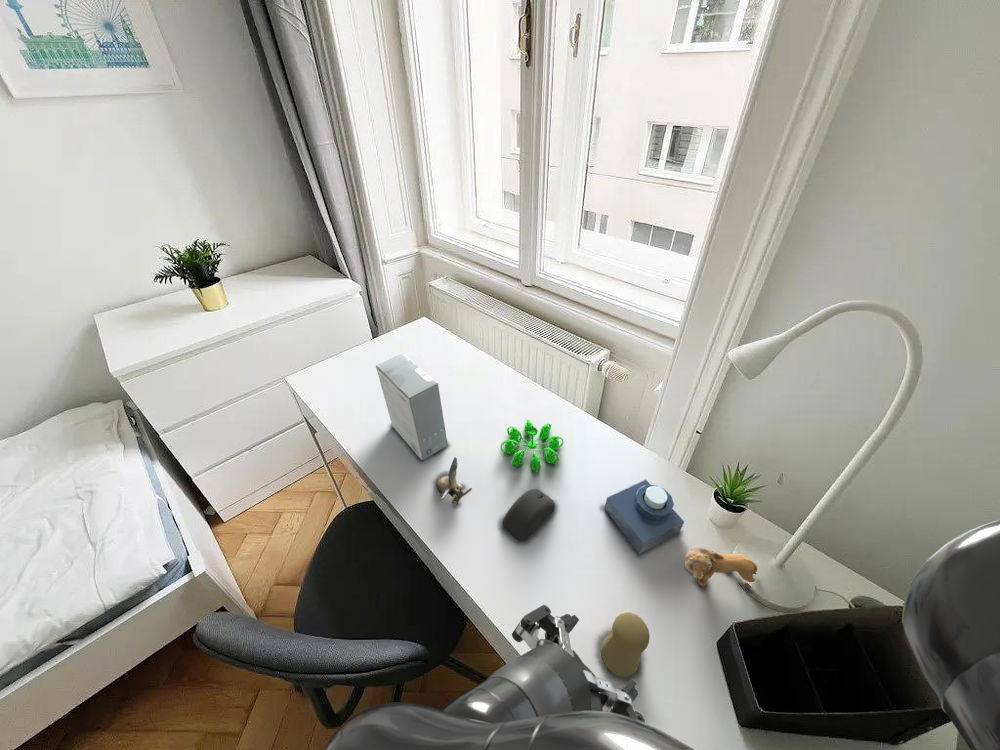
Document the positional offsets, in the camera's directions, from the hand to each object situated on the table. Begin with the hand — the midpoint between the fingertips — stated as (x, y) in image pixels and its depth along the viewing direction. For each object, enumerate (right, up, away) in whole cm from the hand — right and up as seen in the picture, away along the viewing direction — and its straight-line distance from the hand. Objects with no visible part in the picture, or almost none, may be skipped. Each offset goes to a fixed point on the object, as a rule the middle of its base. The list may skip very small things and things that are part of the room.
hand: (599, 653), depth 48 cm
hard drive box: (-32, +18, +54) cm, 66 cm away
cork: (+7, -12, +17) cm, 22 cm away
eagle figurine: (-22, +8, +41) cm, 48 cm away
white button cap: (+19, +8, +32) cm, 38 cm away
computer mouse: (-6, +4, +36) cm, 37 cm away
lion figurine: (+27, -4, +25) cm, 37 cm away
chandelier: (-4, +15, +49) cm, 52 cm away
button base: (+17, +3, +35) cm, 39 cm away
